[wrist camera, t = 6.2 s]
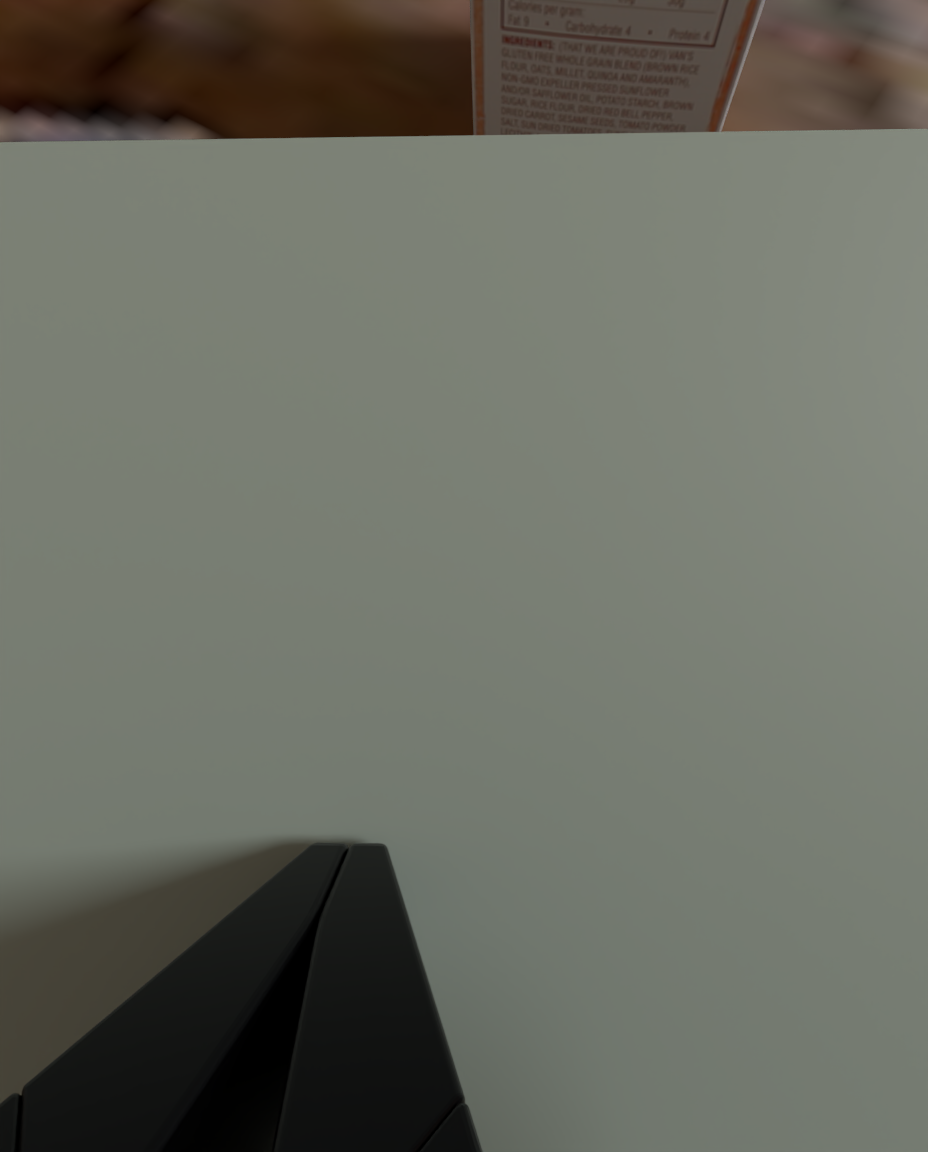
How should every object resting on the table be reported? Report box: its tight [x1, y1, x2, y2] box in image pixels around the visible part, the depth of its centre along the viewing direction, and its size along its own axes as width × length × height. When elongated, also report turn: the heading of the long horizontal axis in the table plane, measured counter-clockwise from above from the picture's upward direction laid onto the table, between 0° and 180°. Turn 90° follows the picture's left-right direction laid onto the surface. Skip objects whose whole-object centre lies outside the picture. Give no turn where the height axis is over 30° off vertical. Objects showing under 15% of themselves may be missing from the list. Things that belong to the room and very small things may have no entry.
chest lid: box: [0, 129, 928, 1152], centre depth 8 cm, size 12×16×1 cm
